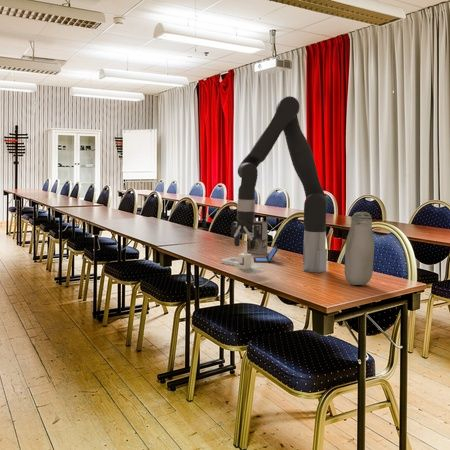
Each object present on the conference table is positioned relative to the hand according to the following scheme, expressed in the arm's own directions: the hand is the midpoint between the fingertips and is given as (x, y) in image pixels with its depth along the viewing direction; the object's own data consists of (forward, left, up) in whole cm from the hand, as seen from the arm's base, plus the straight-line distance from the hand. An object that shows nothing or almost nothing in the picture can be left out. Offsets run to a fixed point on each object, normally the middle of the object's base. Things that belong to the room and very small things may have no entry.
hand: (244, 247), depth 209 cm
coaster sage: (-2, -6, -10) cm, 11 cm away
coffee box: (+21, -36, -10) cm, 43 cm away
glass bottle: (-49, -10, -10) cm, 51 cm away
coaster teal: (-1, 0, -10) cm, 10 cm away
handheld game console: (+4, -20, -10) cm, 23 cm away
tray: (+9, -5, -10) cm, 14 cm away
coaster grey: (-8, +2, -10) cm, 12 cm away
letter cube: (-1, 0, -9) cm, 9 cm away
